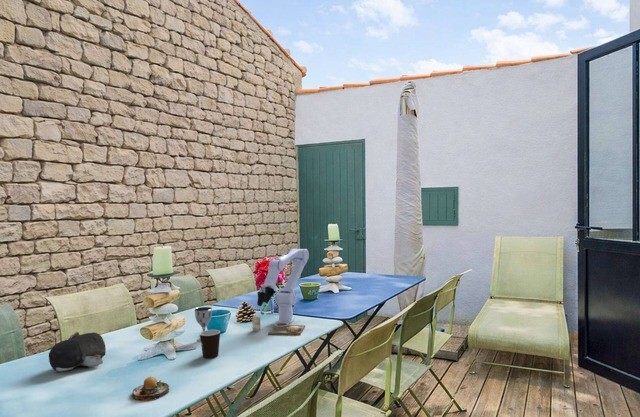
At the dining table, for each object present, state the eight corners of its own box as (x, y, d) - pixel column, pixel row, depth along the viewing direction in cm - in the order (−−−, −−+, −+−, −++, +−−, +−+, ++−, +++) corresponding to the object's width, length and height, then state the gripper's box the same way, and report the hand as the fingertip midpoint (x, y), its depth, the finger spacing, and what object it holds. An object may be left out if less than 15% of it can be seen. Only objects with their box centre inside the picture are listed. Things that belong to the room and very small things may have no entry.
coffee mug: (218, 359, 183) (217, 335, 183) (197, 359, 183) (196, 335, 183) (224, 350, 195) (224, 327, 194) (205, 350, 195) (204, 328, 195)
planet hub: (254, 329, 226) (253, 315, 226) (261, 329, 226) (261, 315, 226) (251, 331, 222) (251, 317, 222) (259, 331, 222) (258, 317, 222)
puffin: (109, 373, 184) (119, 346, 182) (61, 390, 165) (72, 360, 163) (81, 348, 192) (91, 321, 190) (33, 361, 173) (42, 332, 171)
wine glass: (214, 337, 214) (214, 306, 214) (209, 342, 206) (208, 310, 206) (199, 337, 215) (198, 306, 215) (192, 342, 207) (192, 310, 207)
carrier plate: (275, 326, 230) (275, 321, 230) (305, 327, 227) (304, 321, 227) (268, 334, 216) (268, 328, 216) (299, 335, 214) (299, 329, 214)
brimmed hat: (173, 386, 157) (172, 365, 157) (162, 400, 145) (162, 378, 145) (139, 387, 157) (139, 366, 157) (126, 402, 145) (125, 379, 145)
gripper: (258, 280, 233) (249, 303, 225) (270, 273, 221) (261, 297, 214) (269, 286, 235) (261, 309, 227) (282, 279, 224) (273, 303, 216)
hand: (262, 304), depth 221 cm, fingers open, 7 cm apart
